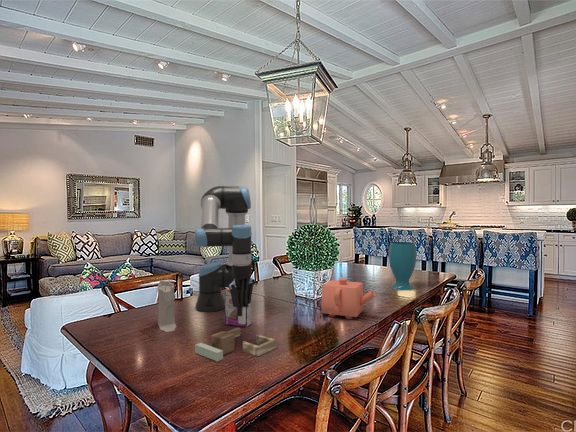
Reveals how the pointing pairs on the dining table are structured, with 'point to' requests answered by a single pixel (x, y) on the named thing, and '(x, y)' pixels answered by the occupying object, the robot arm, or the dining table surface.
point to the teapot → (344, 298)
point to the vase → (402, 263)
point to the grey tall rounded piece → (166, 306)
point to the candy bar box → (234, 312)
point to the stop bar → (209, 351)
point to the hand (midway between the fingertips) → (241, 323)
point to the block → (223, 341)
